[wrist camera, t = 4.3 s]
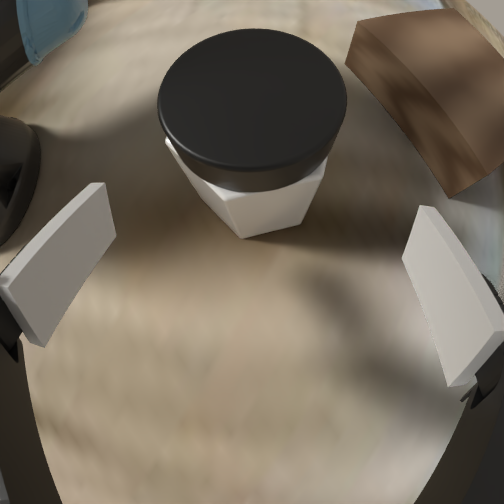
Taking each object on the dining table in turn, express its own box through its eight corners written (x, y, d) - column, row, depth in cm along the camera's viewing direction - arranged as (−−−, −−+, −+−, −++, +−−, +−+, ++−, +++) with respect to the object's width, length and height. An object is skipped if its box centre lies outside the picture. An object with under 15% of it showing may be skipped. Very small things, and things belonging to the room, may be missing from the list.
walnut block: (344, 63, 25) (357, 21, 19) (436, 38, 25) (453, 8, 19) (448, 198, 22) (487, 175, 16) (519, 141, 23) (548, 120, 17)
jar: (336, 188, 23) (392, 99, 11) (261, 262, 22) (256, 224, 10) (255, 117, 24) (248, 6, 12) (181, 181, 23) (118, 91, 12)
